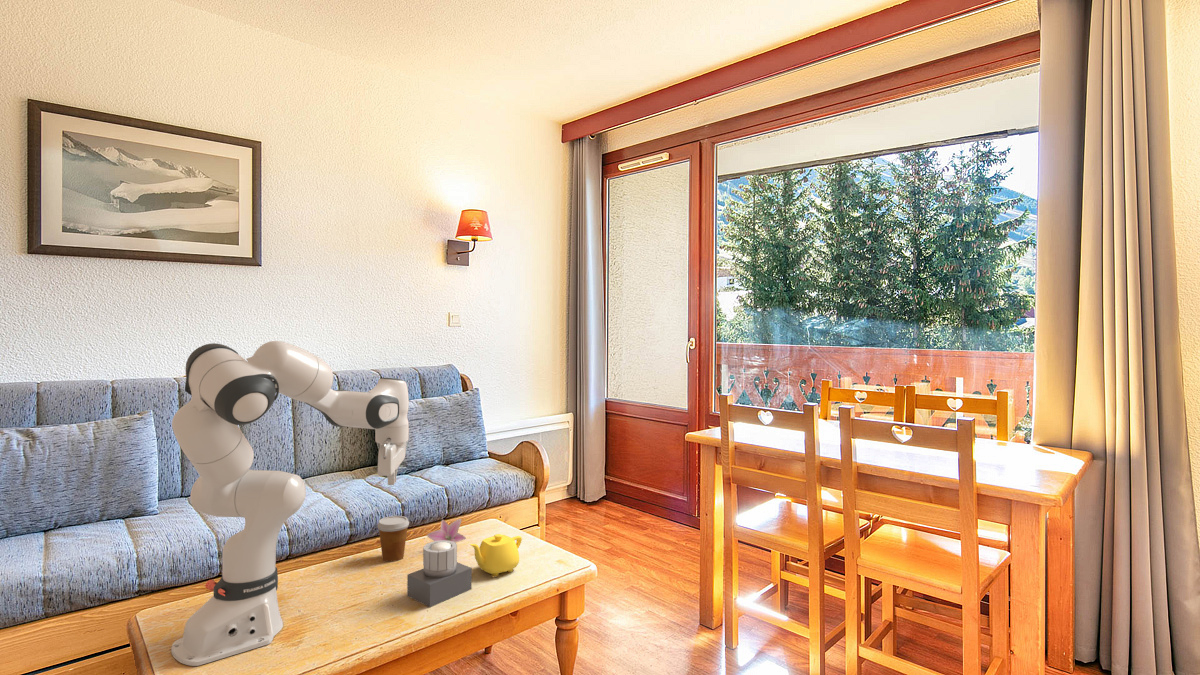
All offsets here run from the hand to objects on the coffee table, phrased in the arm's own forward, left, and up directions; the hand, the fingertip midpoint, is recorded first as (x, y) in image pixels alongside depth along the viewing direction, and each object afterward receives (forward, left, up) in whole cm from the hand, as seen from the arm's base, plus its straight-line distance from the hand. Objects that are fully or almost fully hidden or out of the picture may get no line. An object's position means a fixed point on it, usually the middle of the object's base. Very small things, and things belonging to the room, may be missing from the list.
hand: (391, 483), depth 172 cm
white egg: (+6, -14, -21) cm, 26 cm away
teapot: (+26, -15, -29) cm, 42 cm away
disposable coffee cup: (+12, +17, -29) cm, 36 cm away
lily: (+26, +9, -29) cm, 41 cm away
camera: (+6, -14, -29) cm, 33 cm away
